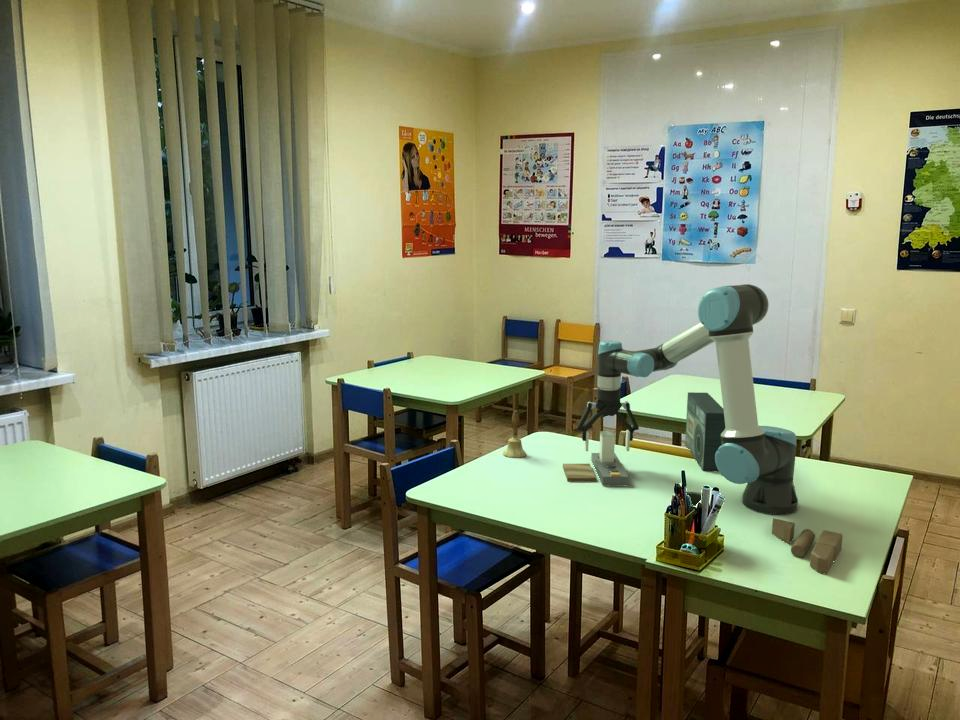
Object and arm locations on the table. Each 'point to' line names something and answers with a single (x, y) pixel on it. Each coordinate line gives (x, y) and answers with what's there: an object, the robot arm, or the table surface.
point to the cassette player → (704, 429)
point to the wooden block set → (821, 553)
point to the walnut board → (579, 472)
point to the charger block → (607, 446)
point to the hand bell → (514, 440)
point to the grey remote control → (610, 471)
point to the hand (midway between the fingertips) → (606, 450)
